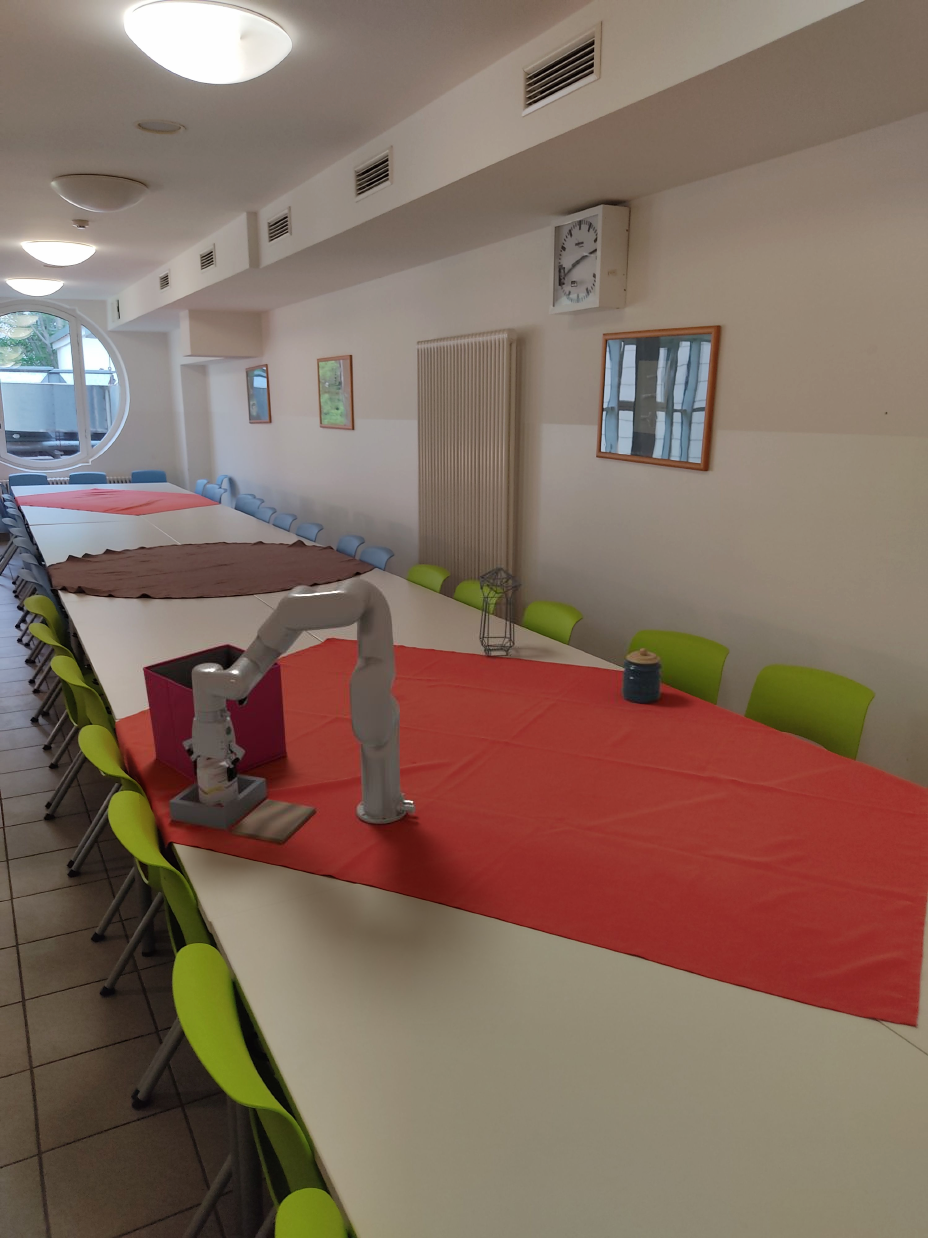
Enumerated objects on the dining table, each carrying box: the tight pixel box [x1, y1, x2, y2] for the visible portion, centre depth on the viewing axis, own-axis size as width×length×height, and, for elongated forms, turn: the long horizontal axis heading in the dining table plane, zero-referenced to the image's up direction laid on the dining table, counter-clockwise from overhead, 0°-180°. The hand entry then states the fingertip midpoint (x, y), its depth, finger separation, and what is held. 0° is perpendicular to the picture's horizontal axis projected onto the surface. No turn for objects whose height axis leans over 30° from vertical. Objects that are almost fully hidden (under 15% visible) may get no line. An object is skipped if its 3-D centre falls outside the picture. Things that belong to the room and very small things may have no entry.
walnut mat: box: [230, 798, 316, 845], centre depth 202 cm, size 14×16×1 cm
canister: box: [621, 647, 663, 704], centre depth 279 cm, size 13×13×18 cm
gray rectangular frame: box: [168, 773, 268, 831], centre depth 208 cm, size 16×18×5 cm
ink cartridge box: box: [197, 756, 239, 807], centre depth 207 cm, size 9×5×15 cm, turn 141°
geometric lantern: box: [476, 566, 522, 657], centre depth 323 cm, size 16×16×35 cm
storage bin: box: [142, 643, 288, 784], centre depth 233 cm, size 28×29×28 cm
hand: (215, 776), depth 206 cm, fingers open, 9 cm apart
